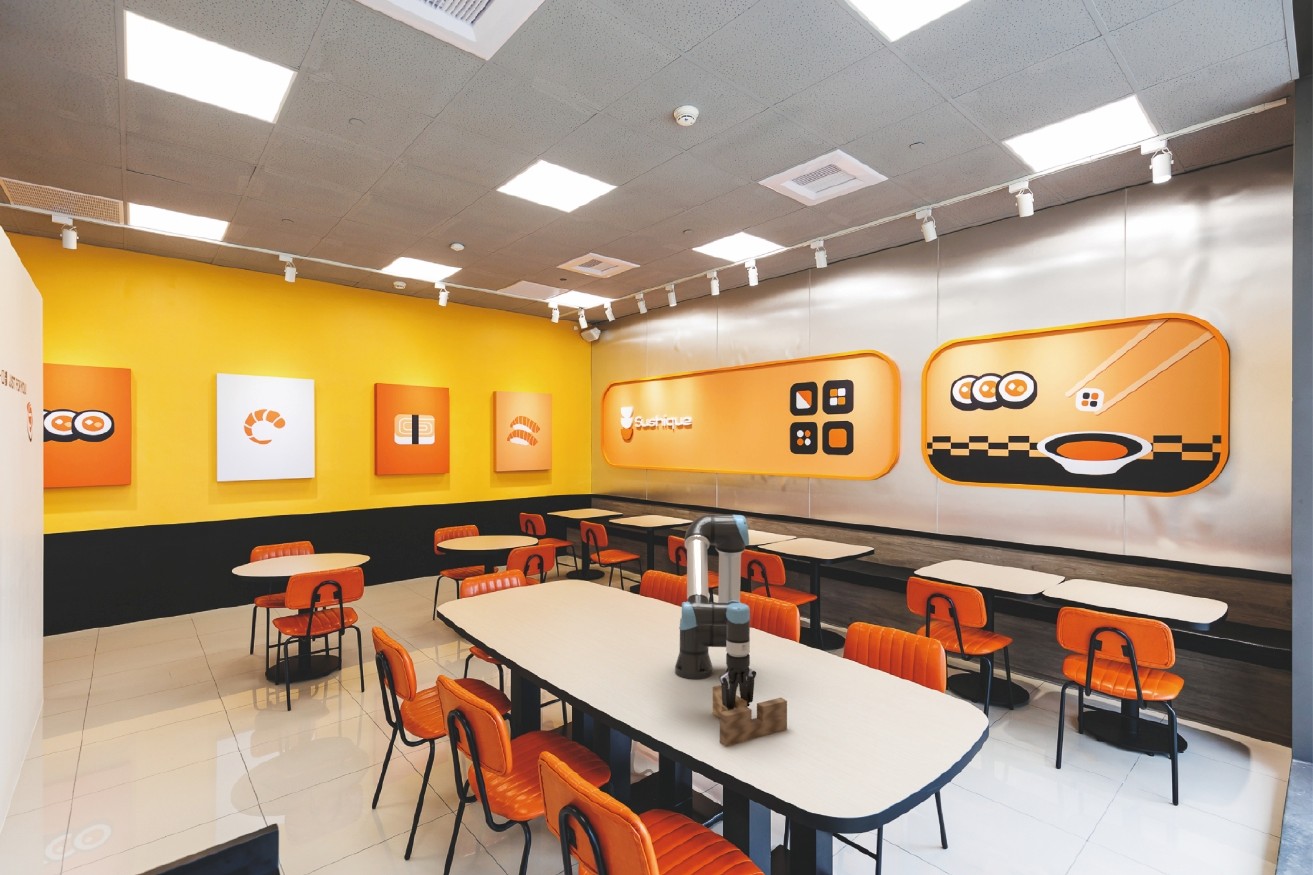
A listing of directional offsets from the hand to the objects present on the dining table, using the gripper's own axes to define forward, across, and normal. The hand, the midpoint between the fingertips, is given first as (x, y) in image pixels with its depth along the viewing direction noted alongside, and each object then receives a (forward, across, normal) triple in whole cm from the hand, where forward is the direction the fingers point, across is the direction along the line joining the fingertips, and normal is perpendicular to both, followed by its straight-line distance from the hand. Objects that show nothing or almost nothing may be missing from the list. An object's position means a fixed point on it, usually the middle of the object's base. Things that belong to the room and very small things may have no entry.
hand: (737, 726), depth 194 cm
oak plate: (0, 0, +5) cm, 5 cm away
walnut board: (0, +1, -7) cm, 7 cm away
